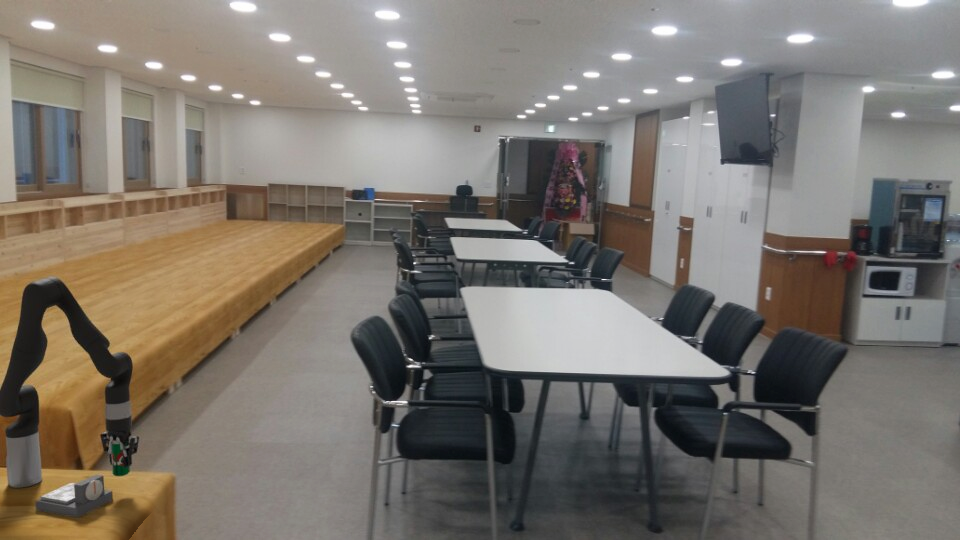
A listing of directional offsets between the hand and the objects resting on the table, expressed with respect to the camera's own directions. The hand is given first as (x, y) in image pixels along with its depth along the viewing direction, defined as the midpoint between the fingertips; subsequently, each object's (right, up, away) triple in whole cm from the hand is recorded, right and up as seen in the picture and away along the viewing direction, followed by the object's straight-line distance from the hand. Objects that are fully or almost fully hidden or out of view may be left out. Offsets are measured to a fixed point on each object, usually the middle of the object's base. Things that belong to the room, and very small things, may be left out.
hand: (121, 465), depth 226 cm
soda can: (0, -3, 0) cm, 3 cm away
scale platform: (-13, -7, -7) cm, 16 cm away
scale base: (-11, -11, -7) cm, 17 cm away
